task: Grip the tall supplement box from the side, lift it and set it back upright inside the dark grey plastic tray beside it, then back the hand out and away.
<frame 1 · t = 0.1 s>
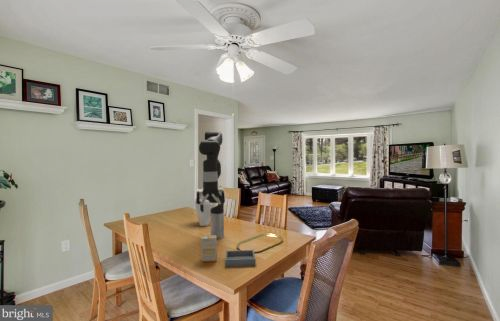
hand: (211, 211, 123), 29 cm above the table, tool pointing down, fingers open, 8 cm apart
vase: (204, 224, 197), on the table
organiser tray: (240, 261, 131), on the table
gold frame: (260, 244, 156), on the table
supplement box: (209, 260, 133), on the table
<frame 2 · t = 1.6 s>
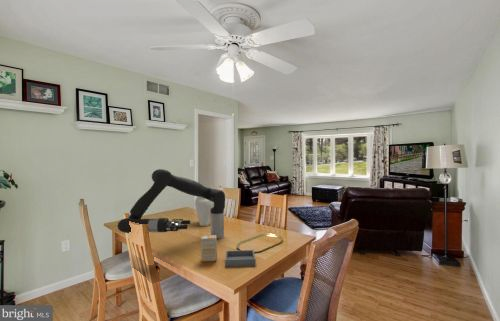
hand: (188, 224, 131), 20 cm above the table, tool horizontal, fingers open, 8 cm apart
nothing on the table moved.
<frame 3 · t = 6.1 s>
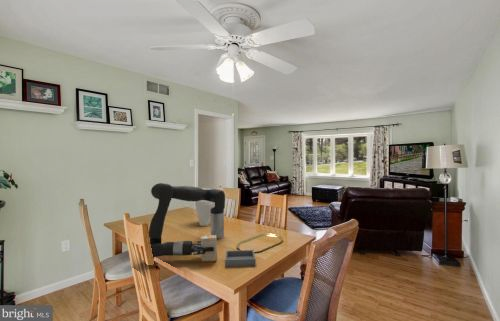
hand: (213, 247, 133), 7 cm above the table, tool horizontal, fingers closed on supplement box, 5 cm apart
supplement box: (209, 260, 133), on the table, touching gripper
everything else where it was.
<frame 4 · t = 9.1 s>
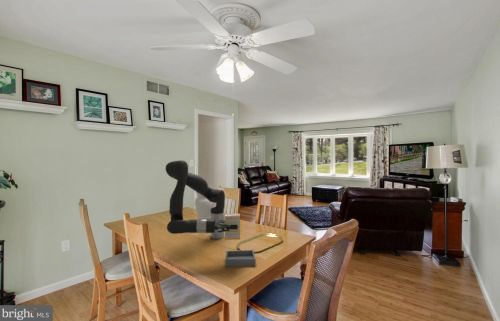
hand: (237, 225, 131), 20 cm above the table, tool horizontal, fingers closed on supplement box, 5 cm apart
supplement box: (232, 238, 131), point 12 cm above the table, touching gripper
everything else where it was.
when the fingers open (9 cm above the table, at t = 12.5 s): supplement box drops 1 cm, resting on organiser tray.
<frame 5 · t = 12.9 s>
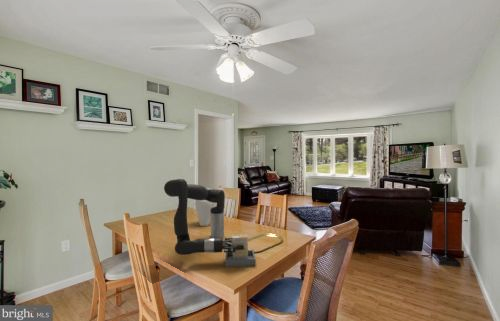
hand: (243, 244, 131), 9 cm above the table, tool horizontal, fingers open, 8 cm apart
supplement box: (240, 259, 131), point 1 cm above the table, touching organiser tray
everything else where it was.
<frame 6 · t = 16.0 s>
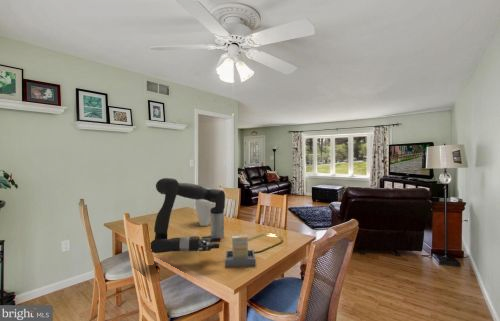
hand: (219, 242, 130), 10 cm above the table, tool horizontal, fingers open, 8 cm apart
nothing on the table moved.
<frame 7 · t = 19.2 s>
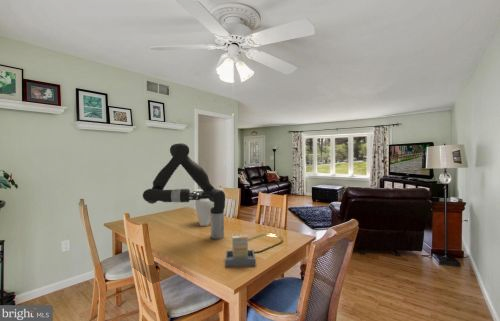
hand: (209, 195, 137), 35 cm above the table, tool horizontal, fingers open, 8 cm apart
nothing on the table moved.
at the end: supplement box inside the target area on the organiser tray (0.1 cm from its centre), point 0.6 cm above the organiser tray's base; supplement box tilted 0°; the gripper is holding nothing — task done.
